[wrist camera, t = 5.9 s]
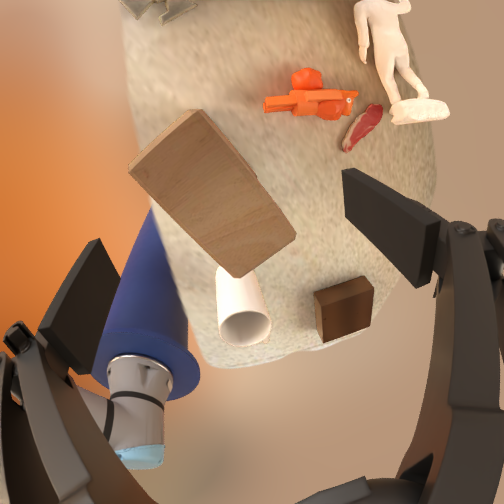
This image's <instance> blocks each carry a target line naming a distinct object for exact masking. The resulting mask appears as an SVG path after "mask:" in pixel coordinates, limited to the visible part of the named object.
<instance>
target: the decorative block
mask: <svg viewBox="0 0 504 504" xmlns="http://www.w3.org/2000/svg"><path fill="white" fill-rule="evenodd" d="M128 170H129V171H128V173H129V174H130V175H131V176H132V177H133V178H134V179H135V180H136V181H137V182H138V183H139V184H140V186H141V187H143V188H144V190H145V191H146V192H147V193H148V194H149V195H150V196H151V197H152V198H153V199H154V200H155V201H156V202H157V203H158V204H159V205H160V206H161V207H162V208H163V209H164V210H165V211H166V212H167V213H168V214H169V215H170V216H171V217H172V218H173V219H174V220H175V221H176V222H177V223H178V224H179V225H180V226H181V227H182V228H183V229H184V230H185V231H186V232H187V233H188V234H189V235H190V236H191V237H192V238H193V239H194V240H195V241H196V242H197V243H198V244H199V245H200V246H201V247H202V248H203V249H204V250H205V251H206V252H207V253H208V254H209V255H210V256H211V257H212V258H213V259H214V260H215V261H216V262H217V263H218V264H219V265H220V266H221V267H223V268H224V269H225V270H226V271H227V272H228V273H229V274H230V275H231V276H232V277H233V278H242V277H243V276H245V275H246V274H248V273H249V272H250V271H252V270H253V269H255V268H256V267H257V266H259V265H260V264H262V263H263V262H264V261H266V260H267V259H269V258H270V257H271V256H273V255H274V254H275V253H277V252H278V251H280V250H281V249H282V248H284V247H285V246H287V245H288V244H289V243H291V242H292V241H293V240H295V237H296V231H295V230H294V228H293V227H292V225H291V224H290V223H289V221H288V220H287V218H286V217H285V215H284V214H283V212H282V211H281V209H280V208H279V207H278V206H277V204H276V203H275V202H274V200H273V199H272V198H271V196H270V195H269V194H268V192H267V191H266V190H265V189H264V187H263V186H262V185H261V183H260V182H259V181H258V179H257V175H256V174H255V173H254V171H253V170H252V169H251V167H250V166H249V165H248V164H247V162H246V161H245V160H244V159H243V157H242V156H241V155H240V154H239V152H238V151H237V150H236V149H235V148H234V146H233V145H232V144H231V143H230V141H229V140H228V139H227V138H226V137H225V135H224V134H223V133H222V132H221V131H220V129H219V128H218V127H217V126H216V125H215V124H214V122H213V121H212V120H211V119H210V118H209V117H208V115H207V114H206V113H205V112H204V111H203V110H202V109H194V110H188V111H187V112H186V113H184V114H183V115H182V116H181V117H180V118H178V119H177V120H176V121H175V122H174V123H172V124H171V125H170V126H169V127H168V128H167V129H166V130H164V131H163V132H162V133H161V134H160V135H159V136H158V137H157V138H156V139H155V140H153V141H152V142H151V143H150V144H149V145H148V146H147V147H146V148H145V149H144V150H143V151H142V152H141V153H140V154H139V155H138V156H137V157H136V158H135V159H134V160H133V161H132V162H131V163H130V164H129V167H128Z"/></svg>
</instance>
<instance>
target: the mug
mask: <svg viewBox="0 0 504 504" xmlns="http://www.w3.org/2000/svg"><path fill="white" fill-rule="evenodd" d="M215 279H216V298H217V314H218V325H219V335H220V337H221V338H222V340H223V341H224V342H226V343H227V344H230V345H232V346H236V347H248V346H253V345H256V344H258V343H260V342H263V343H264V344H267V343H269V342H270V339H269V334H270V332H271V330H272V321H271V319H270V316H269V312H268V309H267V306H266V304H265V301H264V298H263V295H262V292H261V289H260V286H259V283H258V280H257V277H256V275H255V272H254V269H253V270H252V271H250V272H249V273H248V274H246V275H245V276H243V277H242V278H233V277H232V276H231V275H230V274H229V273H228V272H227V271H226V270H225V269H224V268H223V267H221V266H219V268H218V269H217V271H216V275H215Z"/></svg>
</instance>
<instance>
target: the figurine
mask: <svg viewBox="0 0 504 504" xmlns="http://www.w3.org/2000/svg"><path fill="white" fill-rule="evenodd" d="M398 1H399V3H392V2H388V1H386V0H363V1H360V2H357V3H356V4H355V6H354V17H355V24H356V28H357V33H358V45H359V46H360V48H359V56H360V59H361V61H362V62H363V63H365V64H367V62H366V61H365V60H366V55H367V48H368V47H369V35H368V26H367V22H368V24H369V26H370V29H371V34H372V38H373V40H372V41H373V44H374V58H375V64H376V68H377V71H378V74H379V77H380V79H381V82H382V84H383V86H384V88H385V90H386V92H387V94H388V97H389V100H390V103H391V104H392V106H391V108H390V110H389V114H390V115H393V118H392V120H391V122H392V123H394V124H395V125H401V124H409V123H416V122H424V121H433V120H443V119H445V118H446V117H448V116H449V115H450V111H449V109H448V107H447V105H446V103H444V102H441V101H439V100H433V99H428V97H429V93H428V90H427V89H426V88H425V86H424V85H423V83H422V81H421V80H420V79H419V78H418V77H417V76H416V75H415V74H414V72H413V70H412V69H411V68H410V67H409V55H408V47H407V44H406V42H405V40H404V37H403V35H402V34H401V32H400V28H399V21H398V14H404V13H407V12H409V11H410V10H411V5H410V3H409V1H408V0H398ZM394 64H395V67H396V69H397V70H398V72H399V73H400V75H401V76H402V77H403V78H404V79H405V80H406V81H407V82H409V83H410V84H411V85H412V87H413V88H414V89H416V90H417V92H418V97H417V99H407V100H402V101H401V97H400V95H399V92H398V87H397V84H396V82H395V80H394V76H393V71H394Z"/></svg>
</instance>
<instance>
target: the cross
mask: <svg viewBox="0 0 504 504" xmlns="http://www.w3.org/2000/svg"><path fill="white" fill-rule="evenodd" d="M119 1H120V2H121V4H122V5H123V6H124V7H125V8H126V9H127V10H128V11H129V12H130V13H131V14H132V16H134V17H135V19H136V20H138V19H139V18H140V17H141V16H142V15H143V14H144V13H145V12H146V10H147V9H148V8H149V7H150V6H151V5H152V4H153V3H155V2H157V3H158V4H159V3H161V2H165V5H166V9H167V12H166V13H164V14H162V15H160V16H159V20H160V23H161V26H163V25H165V24H167V23H168V22H170V21H172V20H173V19H175V18H177V17H178V16H180V15H182V14H183V13H185V12H187V11H189V10H190V9H192V8H194V7H196V6H197V4H195V3H192V2H190V1H188V0H119Z"/></svg>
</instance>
